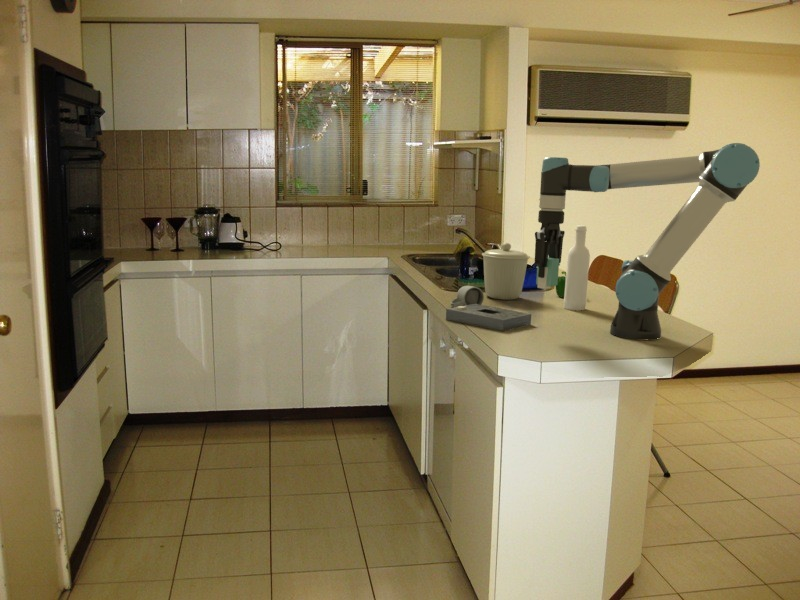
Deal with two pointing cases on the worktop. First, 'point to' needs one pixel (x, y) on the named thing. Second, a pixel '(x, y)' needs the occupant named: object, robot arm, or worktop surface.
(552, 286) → the plug
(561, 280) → the bell pepper
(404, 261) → the worktop surface
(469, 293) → the ceramic mug
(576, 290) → the bottle
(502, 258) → the canister
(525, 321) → the socket
